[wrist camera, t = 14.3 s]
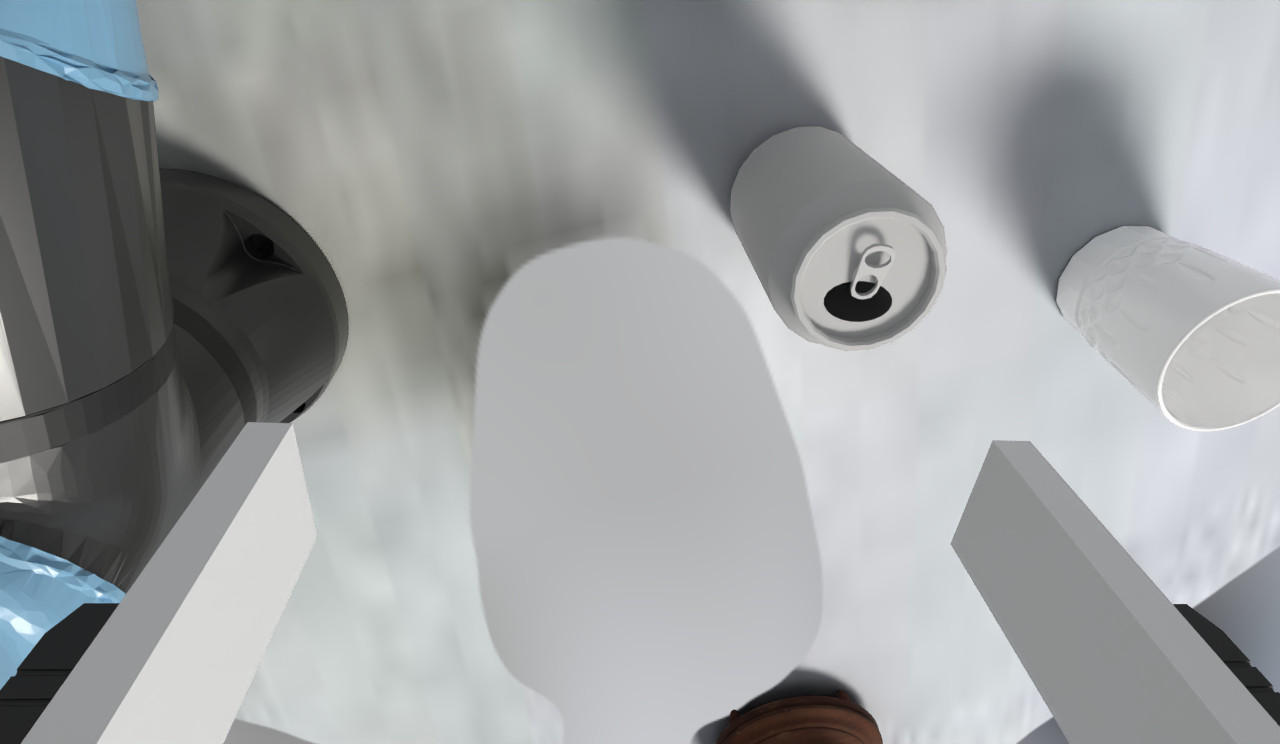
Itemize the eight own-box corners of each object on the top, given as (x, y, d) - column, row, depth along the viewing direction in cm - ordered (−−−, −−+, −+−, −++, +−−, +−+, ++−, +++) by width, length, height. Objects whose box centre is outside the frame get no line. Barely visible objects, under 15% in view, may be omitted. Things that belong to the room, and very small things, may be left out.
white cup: (1093, 200, 40) (1230, 272, 31) (1209, 231, 41) (1371, 308, 33) (1020, 322, 44) (1124, 416, 35) (1128, 347, 45) (1254, 443, 36)
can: (714, 251, 40) (758, 359, 30) (743, 112, 36) (804, 181, 26) (842, 265, 41) (927, 374, 31) (883, 131, 37) (995, 206, 27)
